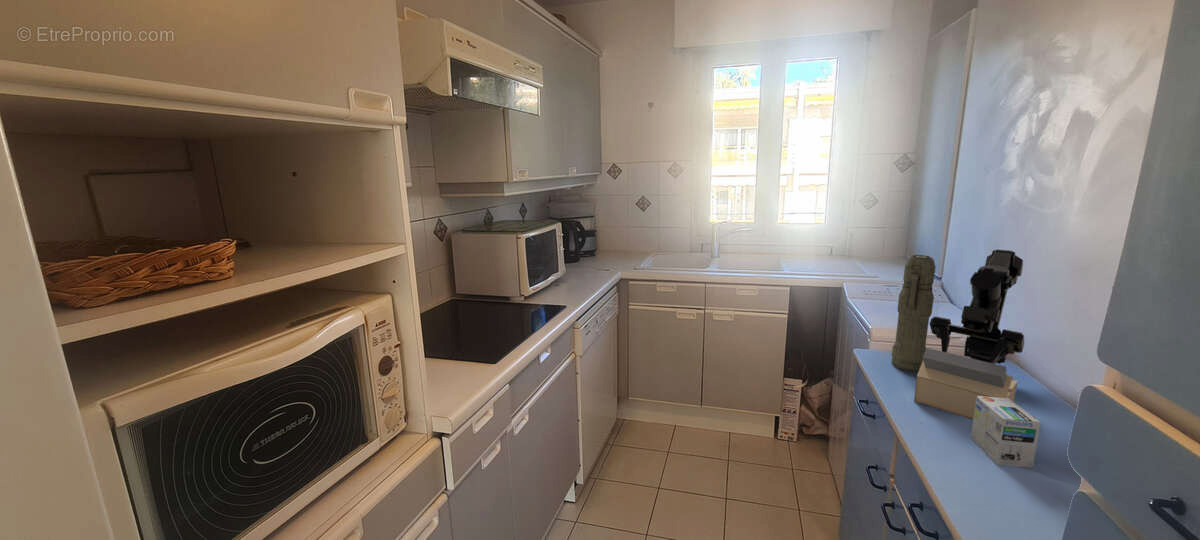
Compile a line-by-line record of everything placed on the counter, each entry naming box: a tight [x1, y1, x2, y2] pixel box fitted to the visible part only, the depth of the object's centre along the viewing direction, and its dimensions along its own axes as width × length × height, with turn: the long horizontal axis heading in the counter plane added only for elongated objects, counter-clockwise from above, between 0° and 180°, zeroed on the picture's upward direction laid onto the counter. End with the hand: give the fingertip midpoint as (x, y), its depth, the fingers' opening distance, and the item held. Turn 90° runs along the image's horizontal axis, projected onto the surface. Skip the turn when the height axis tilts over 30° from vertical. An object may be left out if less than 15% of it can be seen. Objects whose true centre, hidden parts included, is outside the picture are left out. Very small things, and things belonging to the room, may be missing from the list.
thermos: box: [891, 254, 936, 373], centre depth 144 cm, size 9×12×35 cm
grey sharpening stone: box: [916, 347, 1014, 398], centre depth 117 cm, size 7×18×6 cm
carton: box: [913, 376, 1019, 421], centre depth 122 cm, size 14×18×8 cm
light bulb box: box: [970, 396, 1042, 469], centre depth 102 cm, size 11×7×11 cm, turn 168°
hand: (965, 362), depth 118 cm, fingers open, 9 cm apart
